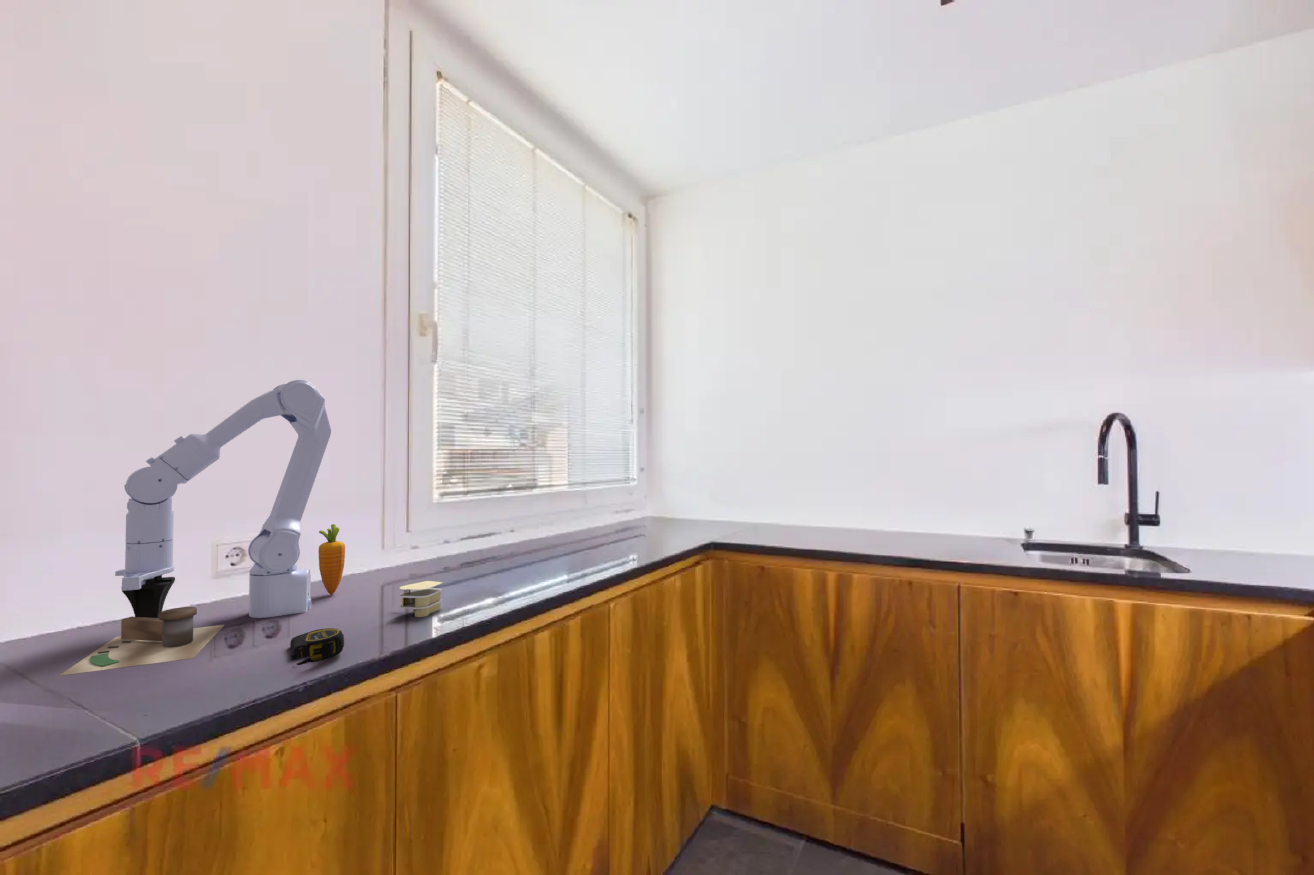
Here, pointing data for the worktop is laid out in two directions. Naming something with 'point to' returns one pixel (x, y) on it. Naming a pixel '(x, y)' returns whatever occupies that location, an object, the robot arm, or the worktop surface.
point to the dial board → (142, 652)
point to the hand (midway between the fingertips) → (148, 625)
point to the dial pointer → (161, 627)
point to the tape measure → (317, 645)
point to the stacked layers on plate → (421, 598)
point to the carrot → (331, 559)
